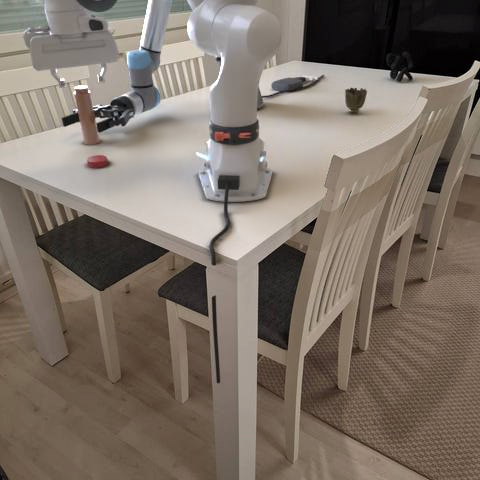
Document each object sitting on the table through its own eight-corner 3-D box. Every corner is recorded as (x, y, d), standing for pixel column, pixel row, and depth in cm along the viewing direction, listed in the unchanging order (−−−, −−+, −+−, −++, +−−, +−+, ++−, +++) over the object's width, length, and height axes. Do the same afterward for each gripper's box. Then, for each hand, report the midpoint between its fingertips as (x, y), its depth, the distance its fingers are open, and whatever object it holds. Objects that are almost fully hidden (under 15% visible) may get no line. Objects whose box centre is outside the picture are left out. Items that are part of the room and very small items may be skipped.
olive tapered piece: (340, 114, 157) (342, 91, 153) (346, 109, 163) (348, 86, 159) (361, 116, 154) (364, 93, 150) (366, 111, 160) (369, 88, 156)
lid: (106, 159, 125) (105, 154, 124) (108, 166, 121) (107, 160, 120) (87, 162, 124) (86, 156, 123) (88, 169, 119) (87, 163, 119)
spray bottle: (268, 89, 190) (300, 79, 206) (290, 92, 184) (320, 82, 200) (269, 81, 189) (300, 72, 205) (290, 85, 183) (321, 75, 199)
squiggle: (400, 92, 202) (376, 71, 205) (417, 76, 202) (392, 56, 205) (405, 81, 191) (380, 59, 194) (423, 64, 191) (397, 42, 194)
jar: (88, 145, 135) (77, 89, 126) (81, 142, 138) (69, 87, 129) (102, 142, 138) (92, 87, 129) (95, 138, 140) (84, 84, 132)
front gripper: (20, 29, 98) (38, 93, 106) (114, 21, 104) (124, 82, 111) (21, 26, 103) (38, 87, 111) (111, 18, 109) (121, 77, 116)
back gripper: (158, 122, 145) (115, 143, 129) (99, 113, 155) (52, 131, 139) (155, 99, 141) (111, 117, 125) (95, 91, 151) (46, 107, 135)
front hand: (82, 85), depth 111 cm, fingers open, 8 cm apart
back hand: (80, 125), depth 132 cm, fingers open, 13 cm apart
